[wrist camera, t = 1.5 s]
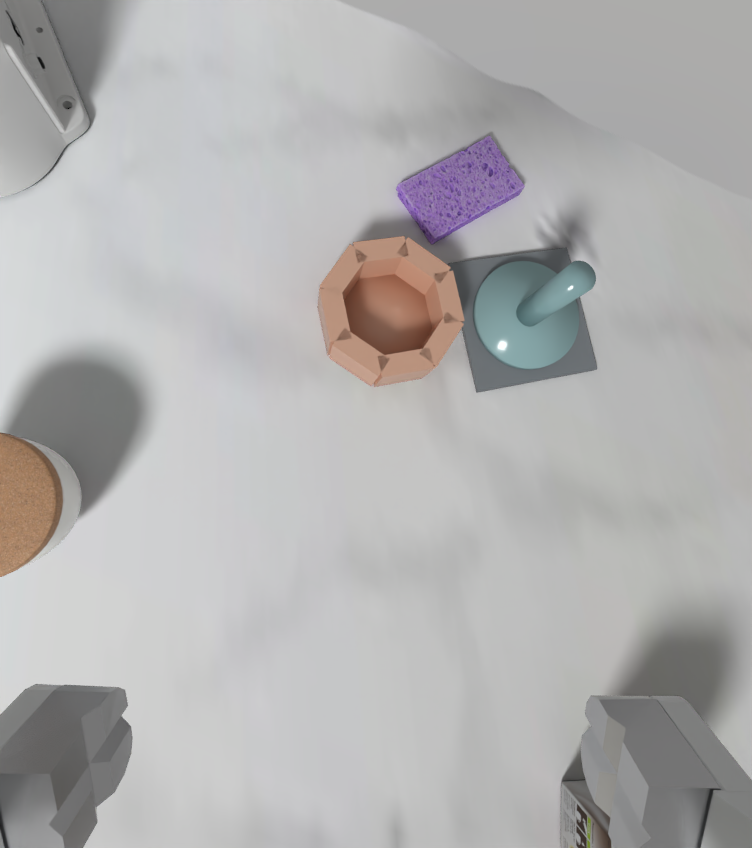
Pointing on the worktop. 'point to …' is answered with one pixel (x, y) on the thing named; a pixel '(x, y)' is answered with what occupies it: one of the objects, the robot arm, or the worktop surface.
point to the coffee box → (582, 818)
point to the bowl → (389, 310)
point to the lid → (530, 312)
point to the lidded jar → (33, 501)
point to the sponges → (459, 189)
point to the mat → (482, 363)
